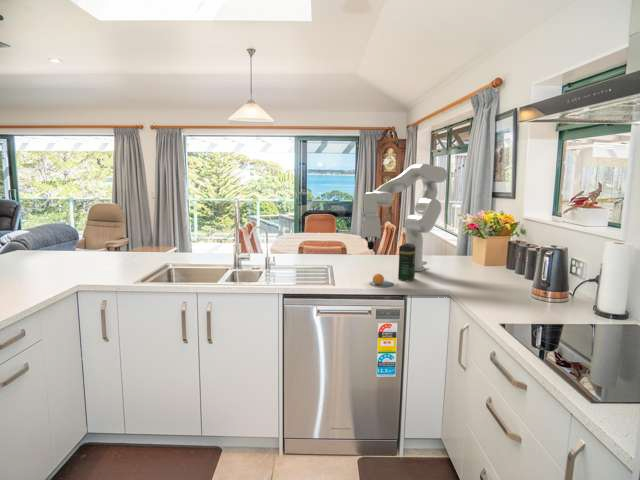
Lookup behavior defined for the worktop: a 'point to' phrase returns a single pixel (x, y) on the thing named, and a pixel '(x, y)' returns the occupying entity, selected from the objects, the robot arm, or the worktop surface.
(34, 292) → the worktop surface
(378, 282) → the ball
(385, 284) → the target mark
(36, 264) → the worktop surface
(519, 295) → the worktop surface
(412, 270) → the coffee jar
